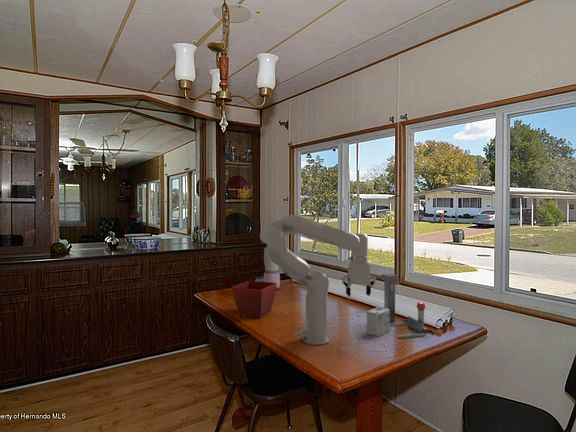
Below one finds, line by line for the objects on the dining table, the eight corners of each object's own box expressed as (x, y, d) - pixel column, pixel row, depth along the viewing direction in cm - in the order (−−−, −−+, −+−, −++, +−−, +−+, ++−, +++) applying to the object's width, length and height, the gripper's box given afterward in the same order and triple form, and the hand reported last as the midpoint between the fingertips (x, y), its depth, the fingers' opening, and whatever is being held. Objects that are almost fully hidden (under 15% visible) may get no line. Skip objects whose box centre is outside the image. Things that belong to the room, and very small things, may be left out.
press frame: (398, 338, 161) (398, 284, 160) (375, 321, 185) (375, 274, 184) (425, 336, 163) (425, 283, 163) (399, 319, 187) (399, 273, 187)
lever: (420, 331, 169) (420, 303, 169) (414, 327, 174) (414, 301, 174) (427, 330, 170) (427, 303, 170) (421, 327, 175) (421, 300, 175)
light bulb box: (378, 327, 175) (378, 306, 175) (390, 331, 170) (390, 309, 170) (366, 333, 168) (366, 310, 168) (378, 336, 163) (378, 313, 163)
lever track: (423, 335, 165) (423, 332, 165) (402, 321, 184) (402, 319, 184) (434, 334, 166) (434, 331, 166) (412, 321, 185) (412, 318, 185)
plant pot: (231, 316, 194) (230, 286, 193) (249, 307, 211) (249, 280, 210) (261, 321, 185) (261, 290, 185) (277, 311, 203) (277, 282, 202)
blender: (275, 291, 252) (275, 247, 251) (260, 289, 257) (260, 246, 256) (284, 286, 266) (284, 245, 265) (270, 285, 271) (270, 244, 270)
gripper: (344, 260, 161) (343, 297, 161) (379, 260, 164) (378, 297, 164) (339, 258, 169) (338, 293, 169) (373, 258, 171) (372, 293, 172)
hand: (358, 295), depth 167 cm, fingers open, 9 cm apart
